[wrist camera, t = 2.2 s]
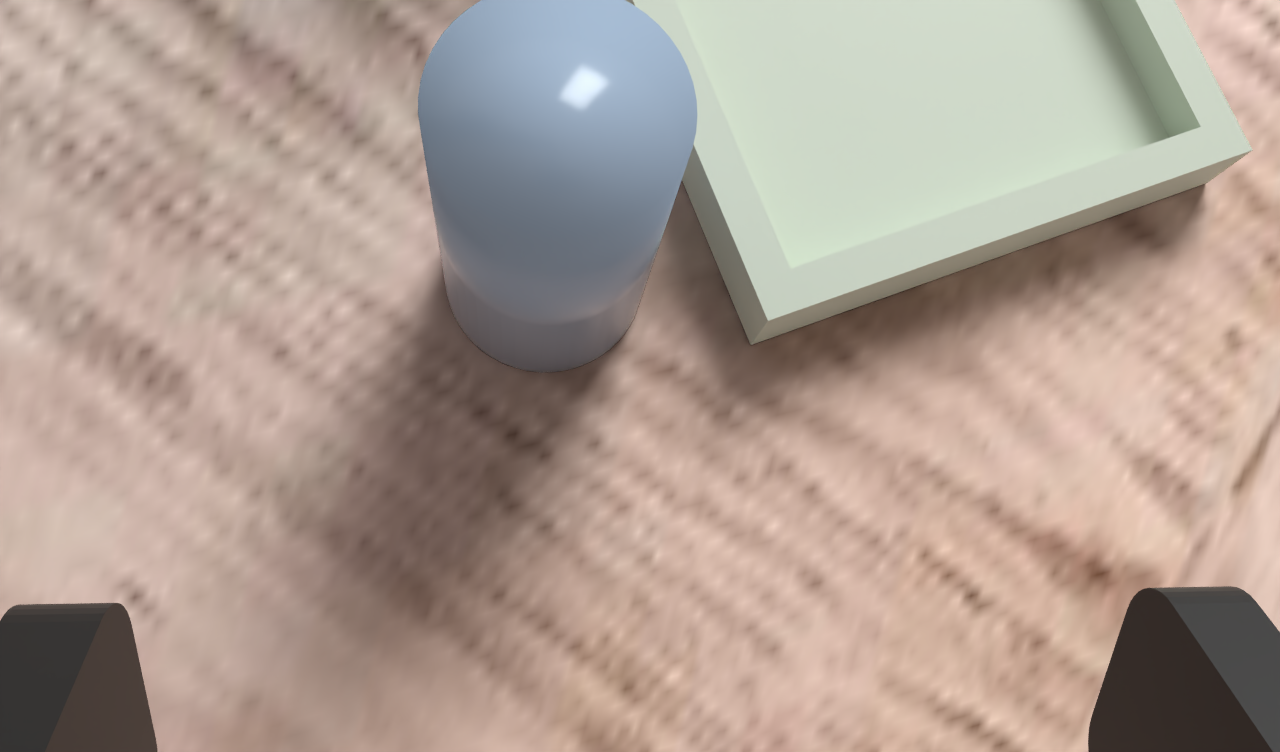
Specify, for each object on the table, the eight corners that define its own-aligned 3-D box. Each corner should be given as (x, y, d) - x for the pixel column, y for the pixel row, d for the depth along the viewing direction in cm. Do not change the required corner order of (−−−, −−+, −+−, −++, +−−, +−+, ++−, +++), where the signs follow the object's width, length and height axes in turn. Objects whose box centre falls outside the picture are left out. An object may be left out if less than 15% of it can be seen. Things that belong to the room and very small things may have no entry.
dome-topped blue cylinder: (484, 400, 35) (473, 274, 24) (418, 219, 36) (380, 25, 25) (671, 334, 36) (739, 187, 25) (601, 161, 37) (638, -49, 26)
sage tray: (750, 345, 36) (767, 320, 34) (562, -108, 39) (565, -160, 37) (1206, 183, 39) (1252, 150, 37) (997, -227, 42) (1027, -282, 40)
